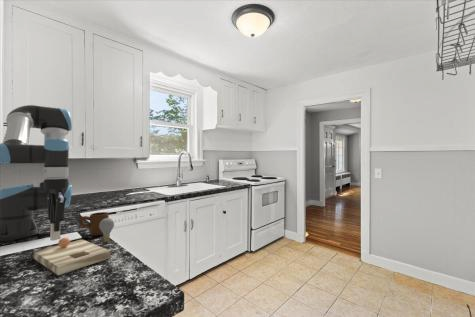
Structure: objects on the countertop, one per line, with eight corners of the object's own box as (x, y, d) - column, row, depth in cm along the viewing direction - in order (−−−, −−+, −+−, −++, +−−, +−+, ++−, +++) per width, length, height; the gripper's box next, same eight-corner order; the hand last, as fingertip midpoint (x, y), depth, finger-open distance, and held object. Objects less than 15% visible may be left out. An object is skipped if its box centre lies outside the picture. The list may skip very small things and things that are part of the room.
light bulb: (117, 240, 97) (117, 217, 97) (105, 245, 92) (106, 220, 92) (107, 239, 99) (107, 216, 99) (95, 243, 94) (96, 219, 94)
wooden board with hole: (33, 258, 79) (33, 251, 79) (82, 245, 91) (82, 239, 91) (58, 275, 67) (58, 266, 67) (110, 257, 79) (110, 250, 79)
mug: (79, 239, 99) (79, 217, 99) (77, 235, 105) (77, 215, 105) (110, 233, 107) (110, 213, 107) (106, 230, 113) (106, 211, 113)
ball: (56, 247, 83) (56, 238, 83) (67, 244, 85) (67, 235, 85) (60, 249, 81) (60, 239, 81) (71, 246, 83) (71, 237, 84)
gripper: (38, 178, 89) (37, 239, 88) (50, 179, 82) (49, 245, 81) (61, 177, 95) (60, 234, 95) (74, 178, 88) (73, 239, 87)
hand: (55, 239), depth 88 cm, fingers closed
